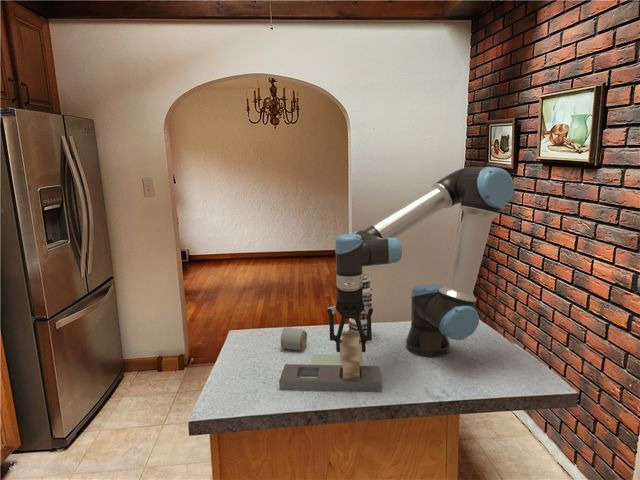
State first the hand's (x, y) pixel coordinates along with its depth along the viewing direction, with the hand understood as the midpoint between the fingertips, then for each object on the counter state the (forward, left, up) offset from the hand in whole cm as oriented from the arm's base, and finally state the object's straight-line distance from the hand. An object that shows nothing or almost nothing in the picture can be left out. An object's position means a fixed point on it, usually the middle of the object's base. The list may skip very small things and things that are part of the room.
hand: (351, 361), depth 125 cm
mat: (+8, -12, -7) cm, 16 cm away
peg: (0, 0, -5) cm, 5 cm away
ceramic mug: (+21, -24, -7) cm, 33 cm away
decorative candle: (-3, -32, -7) cm, 33 cm away
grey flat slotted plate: (+6, 0, -7) cm, 9 cm away
